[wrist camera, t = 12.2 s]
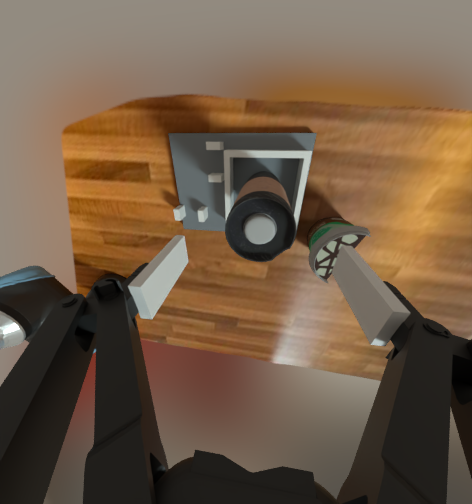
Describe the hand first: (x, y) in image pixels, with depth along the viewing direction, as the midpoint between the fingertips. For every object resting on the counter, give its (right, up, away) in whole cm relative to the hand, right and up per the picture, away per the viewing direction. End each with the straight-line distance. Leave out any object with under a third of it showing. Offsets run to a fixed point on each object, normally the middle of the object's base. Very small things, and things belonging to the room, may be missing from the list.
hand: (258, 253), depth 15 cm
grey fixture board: (-1, +14, +22) cm, 26 cm away
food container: (+17, +5, +25) cm, 30 cm away
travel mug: (+3, +12, +20) cm, 24 cm away
